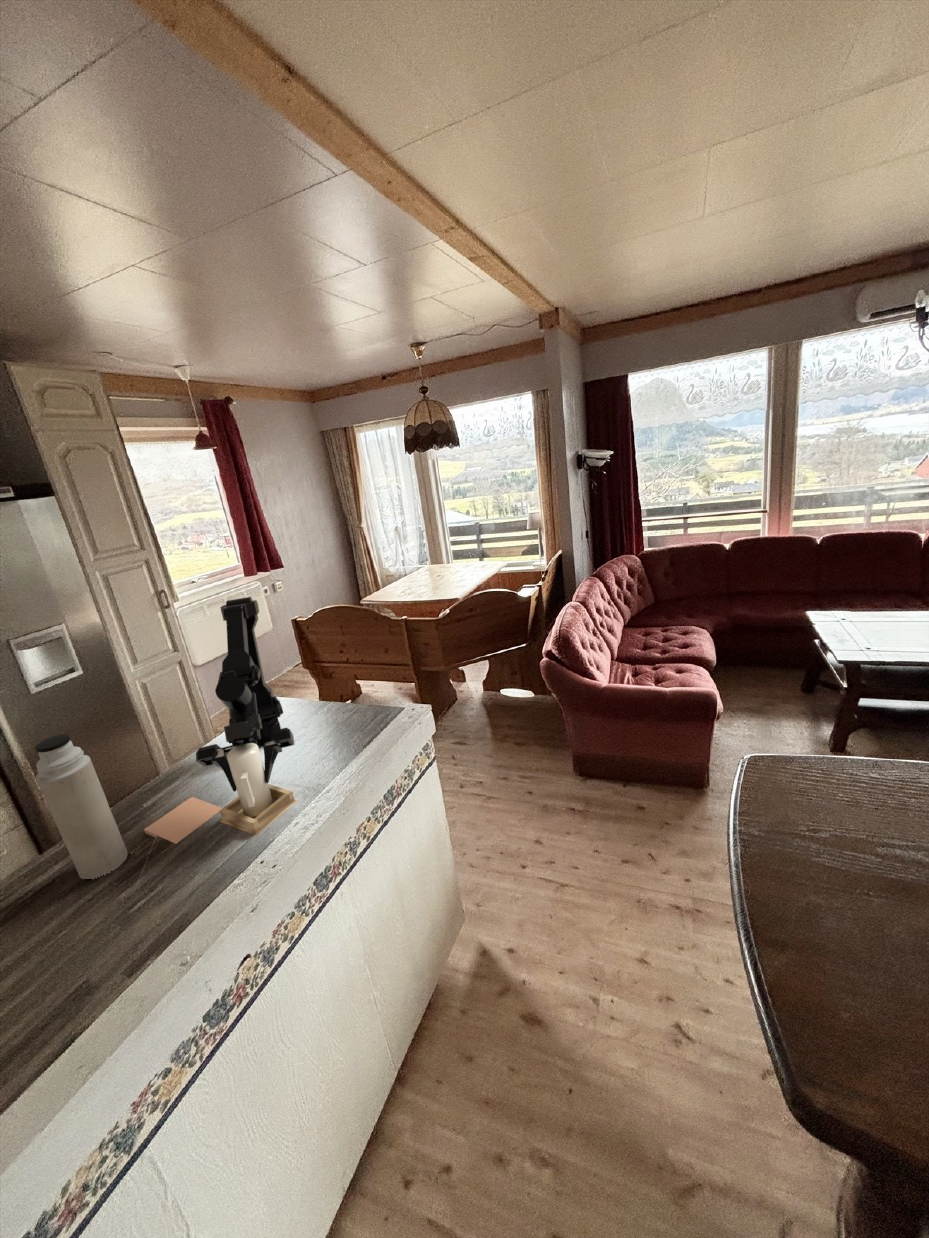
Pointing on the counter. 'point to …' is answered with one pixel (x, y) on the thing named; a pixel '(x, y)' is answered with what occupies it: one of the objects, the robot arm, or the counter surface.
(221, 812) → the holder
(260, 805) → the jug
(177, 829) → the tile
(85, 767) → the thermos bottle
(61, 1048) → the counter surface
